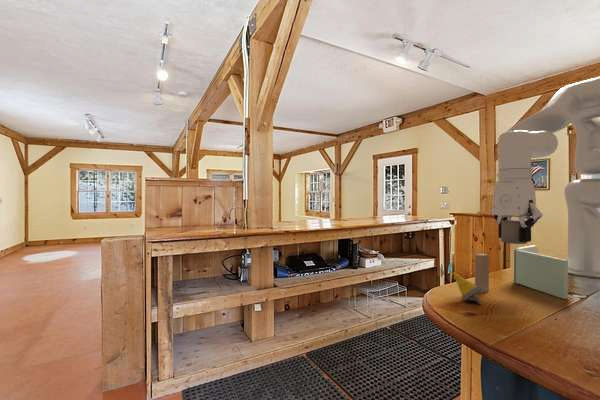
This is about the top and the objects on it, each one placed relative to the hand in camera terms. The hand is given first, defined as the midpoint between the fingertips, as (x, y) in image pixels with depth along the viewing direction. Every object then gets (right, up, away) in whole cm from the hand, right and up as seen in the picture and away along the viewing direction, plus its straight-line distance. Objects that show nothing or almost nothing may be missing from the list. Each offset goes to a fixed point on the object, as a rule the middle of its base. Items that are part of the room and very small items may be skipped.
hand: (514, 239), depth 85 cm
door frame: (+3, -14, +6) cm, 16 cm away
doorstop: (0, -1, 0) cm, 1 cm away
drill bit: (-17, -15, -7) cm, 24 cm away
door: (+7, -14, 0) cm, 16 cm away
